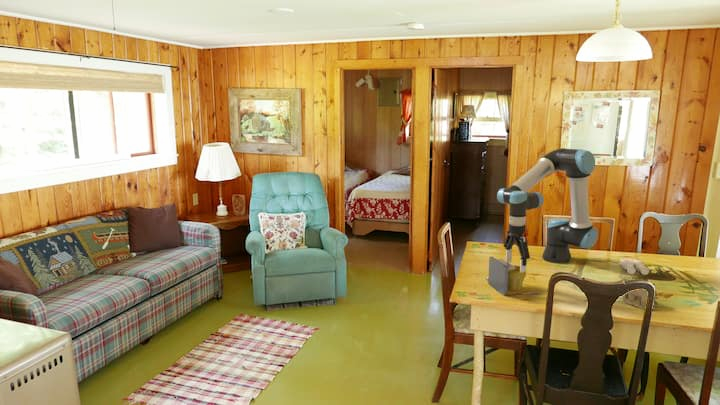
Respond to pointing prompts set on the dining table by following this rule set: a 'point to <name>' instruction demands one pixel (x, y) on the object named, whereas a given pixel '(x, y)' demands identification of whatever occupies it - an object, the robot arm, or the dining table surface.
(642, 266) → the binoculars
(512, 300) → the dining table surface
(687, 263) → the dining table surface
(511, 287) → the plant pot
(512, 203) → the robot arm
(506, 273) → the bracket
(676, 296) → the dining table surface
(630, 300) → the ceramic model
